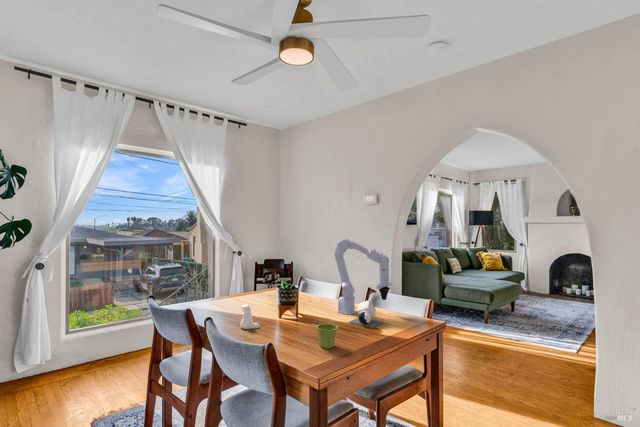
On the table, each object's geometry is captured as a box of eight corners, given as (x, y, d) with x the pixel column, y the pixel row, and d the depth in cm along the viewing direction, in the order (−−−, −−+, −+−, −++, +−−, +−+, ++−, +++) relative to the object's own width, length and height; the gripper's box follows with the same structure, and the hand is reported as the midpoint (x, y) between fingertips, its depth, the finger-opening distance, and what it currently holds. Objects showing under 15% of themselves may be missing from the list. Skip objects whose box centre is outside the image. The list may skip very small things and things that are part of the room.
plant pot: (336, 342, 158) (336, 323, 158) (338, 350, 149) (338, 330, 149) (316, 342, 158) (316, 323, 158) (316, 350, 148) (316, 330, 148)
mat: (348, 322, 188) (348, 321, 188) (360, 317, 197) (360, 316, 197) (373, 328, 178) (373, 327, 178) (384, 322, 188) (384, 321, 188)
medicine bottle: (365, 313, 194) (361, 327, 183) (358, 303, 193) (354, 317, 182) (376, 309, 191) (373, 323, 180) (369, 299, 190) (366, 313, 179)
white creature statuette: (260, 327, 179) (260, 304, 179) (245, 331, 173) (245, 307, 173) (251, 323, 186) (251, 301, 186) (236, 326, 180) (236, 303, 180)
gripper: (384, 278, 196) (384, 302, 196) (395, 275, 207) (395, 298, 207) (373, 277, 200) (373, 301, 200) (385, 274, 212) (385, 296, 211)
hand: (384, 299), depth 204 cm, fingers closed
